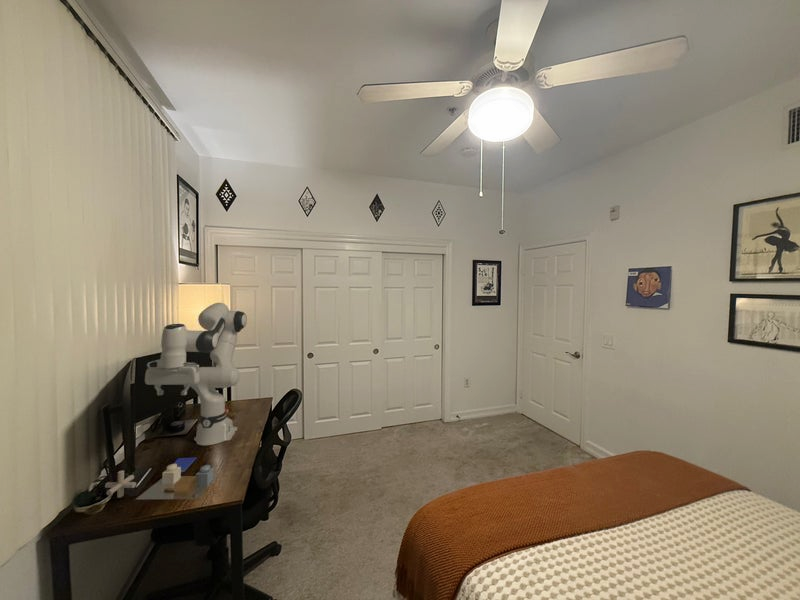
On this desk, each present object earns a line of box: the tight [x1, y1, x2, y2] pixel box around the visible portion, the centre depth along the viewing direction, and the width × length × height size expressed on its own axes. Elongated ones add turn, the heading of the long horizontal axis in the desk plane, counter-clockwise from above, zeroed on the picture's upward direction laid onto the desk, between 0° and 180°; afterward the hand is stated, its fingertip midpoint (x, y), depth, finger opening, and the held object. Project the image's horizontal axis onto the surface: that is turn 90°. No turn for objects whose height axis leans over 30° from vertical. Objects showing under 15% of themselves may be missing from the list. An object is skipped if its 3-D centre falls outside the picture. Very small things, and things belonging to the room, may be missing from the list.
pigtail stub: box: [164, 477, 197, 495], centre depth 121 cm, size 5×11×4 cm, turn 92°
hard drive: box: [172, 457, 198, 473], centre depth 139 cm, size 2×8×12 cm
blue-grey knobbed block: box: [195, 464, 215, 485], centre depth 127 cm, size 4×4×6 cm
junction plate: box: [135, 475, 219, 500], centre depth 123 cm, size 15×22×1 cm
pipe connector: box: [104, 470, 137, 498], centre depth 117 cm, size 10×10×10 cm
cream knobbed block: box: [161, 463, 182, 484], centre depth 127 cm, size 4×4×6 cm
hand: (172, 394), depth 131 cm, fingers open, 8 cm apart
